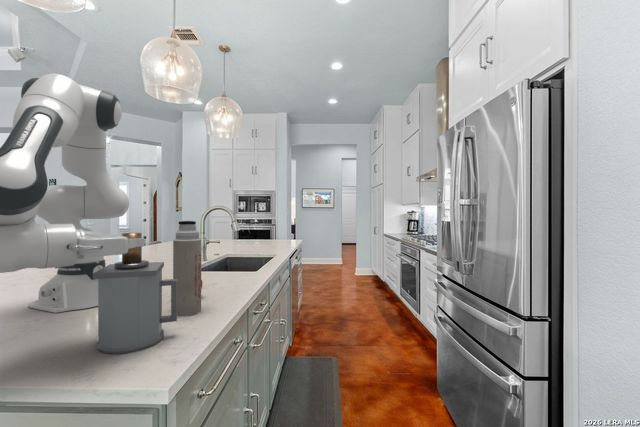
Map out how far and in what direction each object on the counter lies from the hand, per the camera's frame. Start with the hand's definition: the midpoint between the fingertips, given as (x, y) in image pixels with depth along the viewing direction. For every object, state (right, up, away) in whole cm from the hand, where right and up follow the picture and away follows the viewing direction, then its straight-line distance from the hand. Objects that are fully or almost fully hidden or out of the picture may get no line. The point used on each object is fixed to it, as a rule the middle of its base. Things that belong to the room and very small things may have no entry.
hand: (136, 240), depth 75 cm
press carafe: (+1, -24, 0) cm, 24 cm away
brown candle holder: (-1, -17, -1) cm, 17 cm away
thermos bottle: (+3, -24, +21) cm, 32 cm away
